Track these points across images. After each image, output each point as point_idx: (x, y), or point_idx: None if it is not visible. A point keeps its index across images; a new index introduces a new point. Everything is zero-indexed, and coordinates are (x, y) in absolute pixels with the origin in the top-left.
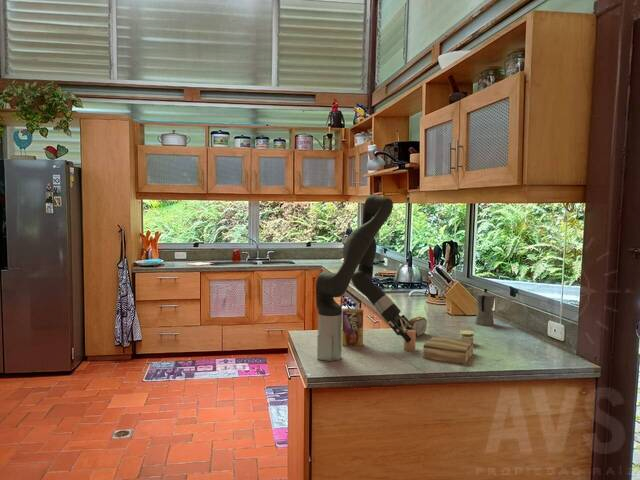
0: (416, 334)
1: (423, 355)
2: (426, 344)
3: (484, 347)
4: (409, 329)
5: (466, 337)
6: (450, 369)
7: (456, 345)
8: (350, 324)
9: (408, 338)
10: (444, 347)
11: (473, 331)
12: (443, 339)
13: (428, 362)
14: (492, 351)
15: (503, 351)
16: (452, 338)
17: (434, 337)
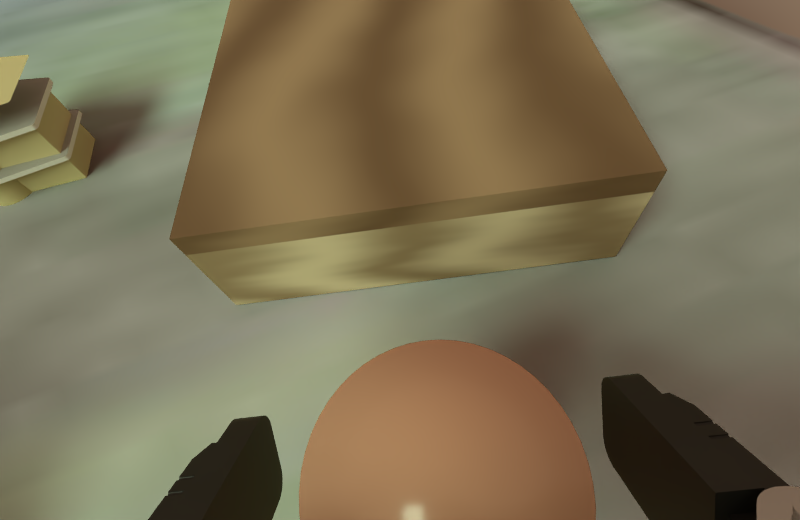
0: (260, 426)
1: (622, 242)
2: (611, 158)
3: (107, 80)
4: None
5: (46, 98)
6: (703, 44)
7: (431, 7)
8: None
9: (686, 406)
10: (568, 30)
11: None
12: (283, 126)
13: (700, 177)
14: (183, 37)
15: (165, 13)
16: (209, 92)
17: (237, 212)
